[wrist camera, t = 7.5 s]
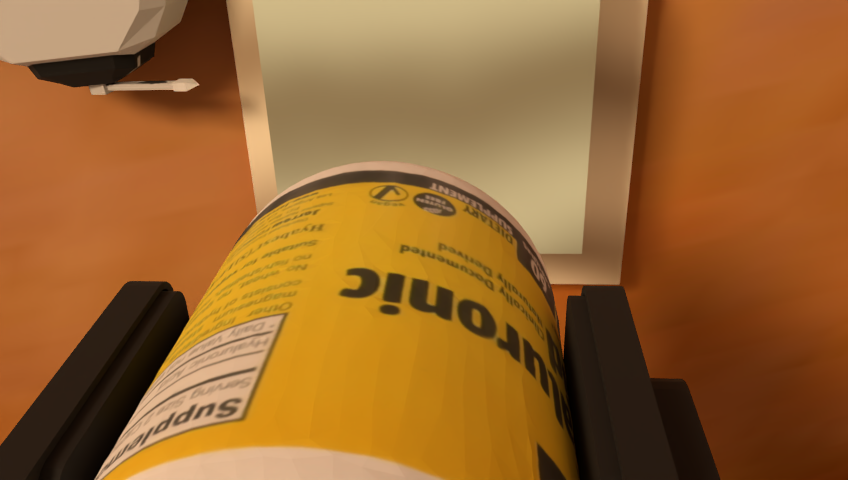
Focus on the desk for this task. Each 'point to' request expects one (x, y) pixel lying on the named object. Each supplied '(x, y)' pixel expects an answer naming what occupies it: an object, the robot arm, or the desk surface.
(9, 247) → the desk surface
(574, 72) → the base board
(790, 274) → the desk surface
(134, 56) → the robot toy
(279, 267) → the supplement bottle
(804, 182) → the desk surface
